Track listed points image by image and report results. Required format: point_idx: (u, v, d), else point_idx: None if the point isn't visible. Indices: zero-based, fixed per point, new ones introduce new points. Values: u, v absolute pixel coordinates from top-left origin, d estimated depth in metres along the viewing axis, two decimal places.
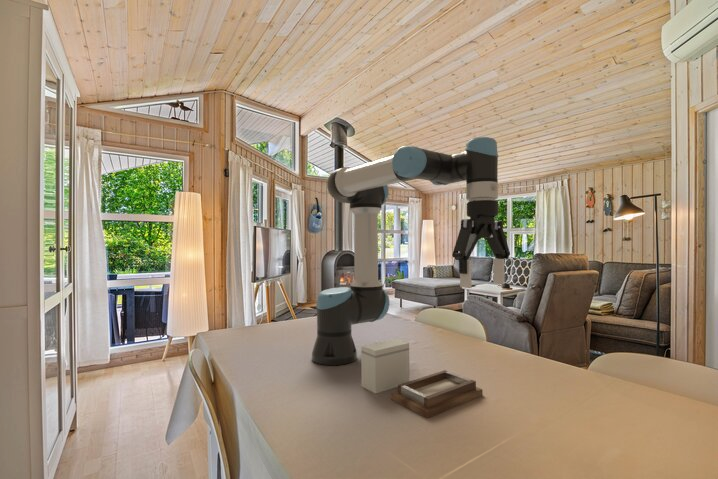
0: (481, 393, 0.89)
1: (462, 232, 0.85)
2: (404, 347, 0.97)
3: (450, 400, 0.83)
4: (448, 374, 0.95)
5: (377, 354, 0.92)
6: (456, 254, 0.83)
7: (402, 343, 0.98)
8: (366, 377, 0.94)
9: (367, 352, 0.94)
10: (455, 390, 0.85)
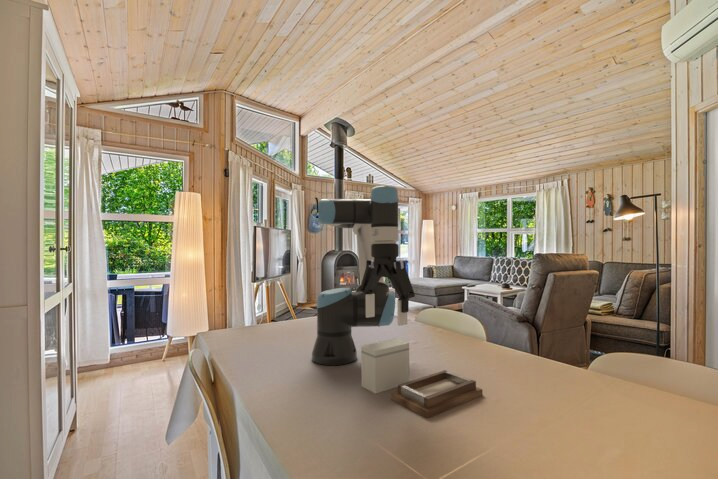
0: (481, 393, 0.89)
1: None
2: (404, 347, 0.97)
3: (450, 400, 0.83)
4: (448, 374, 0.95)
5: (377, 354, 0.92)
6: None
7: (402, 343, 0.98)
8: (366, 377, 0.94)
9: (367, 352, 0.94)
10: (455, 390, 0.85)
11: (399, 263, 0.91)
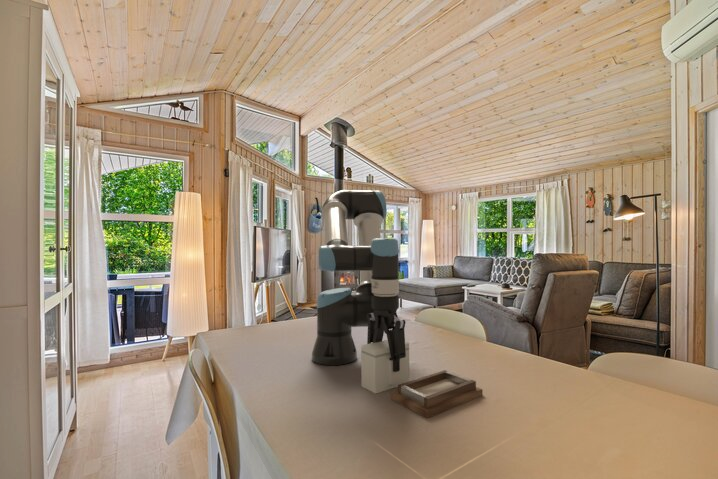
0: (481, 393, 0.89)
1: None
2: None
3: (450, 400, 0.83)
4: (448, 374, 0.95)
5: (377, 354, 0.92)
6: None
7: None
8: (365, 377, 0.94)
9: (367, 352, 0.94)
10: (455, 390, 0.85)
11: (399, 324, 0.91)
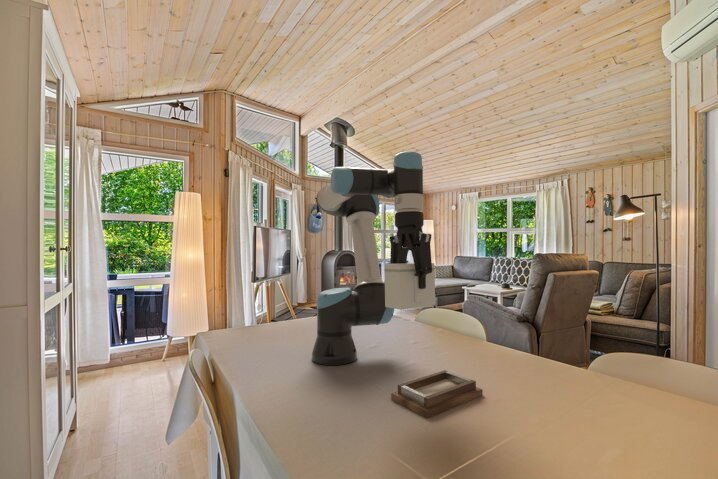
0: (481, 393, 0.89)
1: None
2: None
3: (450, 400, 0.83)
4: (448, 374, 0.95)
5: (402, 268, 0.87)
6: None
7: None
8: (389, 295, 0.90)
9: (391, 269, 0.89)
10: (455, 390, 0.85)
11: (425, 236, 0.87)
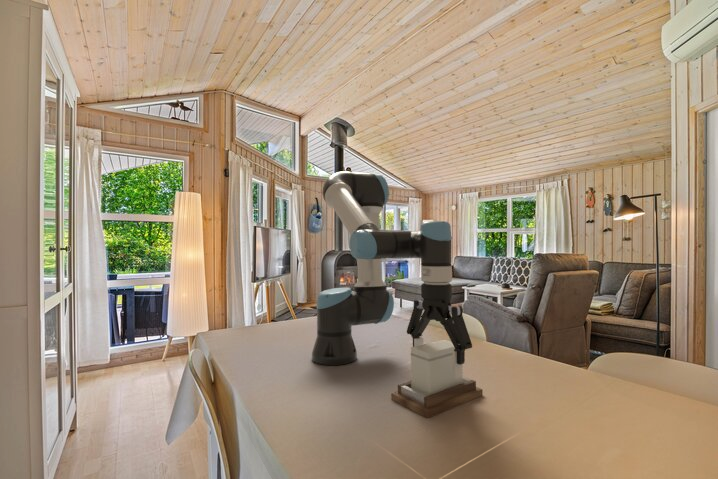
0: (481, 393, 0.89)
1: None
2: None
3: (450, 400, 0.83)
4: None
5: (431, 357, 0.83)
6: None
7: None
8: (417, 382, 0.86)
9: (418, 355, 0.85)
10: (455, 390, 0.85)
11: (456, 309, 0.83)
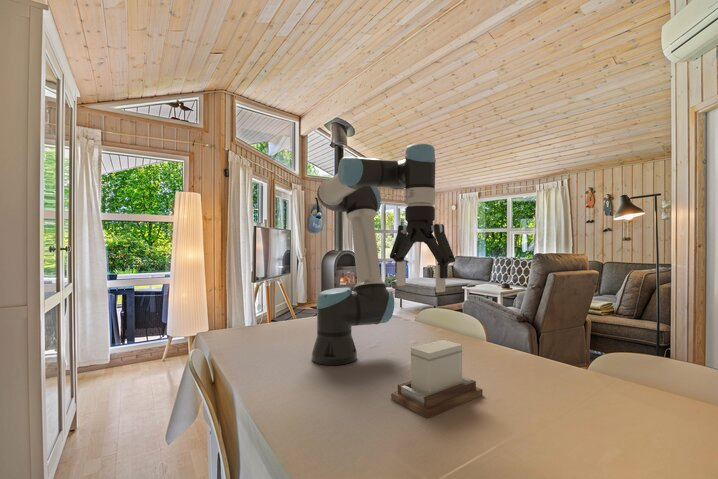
0: (481, 393, 0.89)
1: None
2: (457, 349, 0.89)
3: (450, 400, 0.83)
4: None
5: (431, 357, 0.83)
6: None
7: (455, 345, 0.89)
8: (417, 382, 0.86)
9: (418, 355, 0.85)
10: (455, 390, 0.85)
11: (438, 226, 0.85)
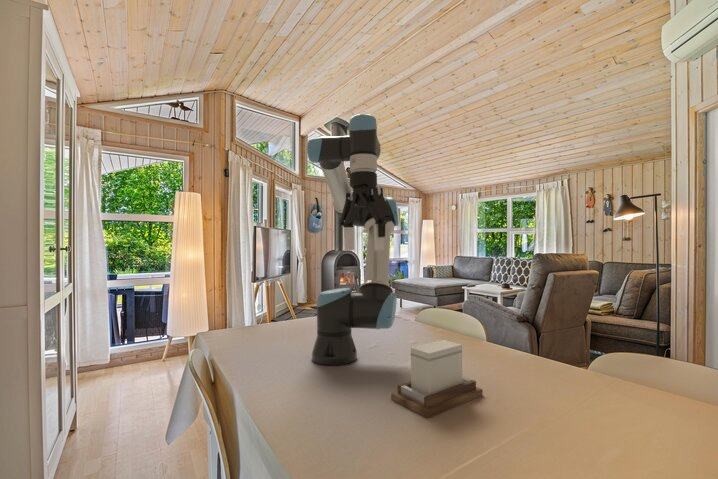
0: (481, 393, 0.89)
1: None
2: (457, 349, 0.89)
3: (450, 400, 0.83)
4: None
5: (431, 357, 0.83)
6: None
7: (455, 345, 0.89)
8: (417, 382, 0.86)
9: (418, 355, 0.85)
10: (455, 390, 0.85)
11: (376, 188, 0.91)
